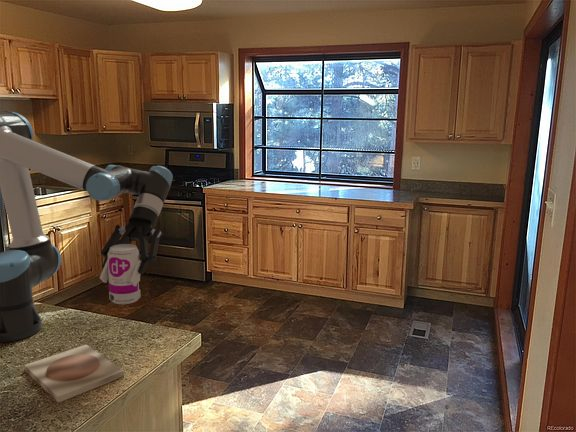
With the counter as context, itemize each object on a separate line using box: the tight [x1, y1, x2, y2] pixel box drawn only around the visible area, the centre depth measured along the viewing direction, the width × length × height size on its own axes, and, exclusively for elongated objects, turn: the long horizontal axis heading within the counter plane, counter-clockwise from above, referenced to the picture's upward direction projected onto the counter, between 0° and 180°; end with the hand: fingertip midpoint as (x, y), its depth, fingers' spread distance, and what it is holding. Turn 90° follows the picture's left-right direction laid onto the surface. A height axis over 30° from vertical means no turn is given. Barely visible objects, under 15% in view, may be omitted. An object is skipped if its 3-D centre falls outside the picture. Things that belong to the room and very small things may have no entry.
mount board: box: [24, 344, 125, 404], centre depth 120 cm, size 20×16×2 cm
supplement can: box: [108, 243, 142, 305], centre depth 131 cm, size 8×8×15 cm
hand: (117, 282), depth 128 cm, fingers closed on supplement can, 8 cm apart
